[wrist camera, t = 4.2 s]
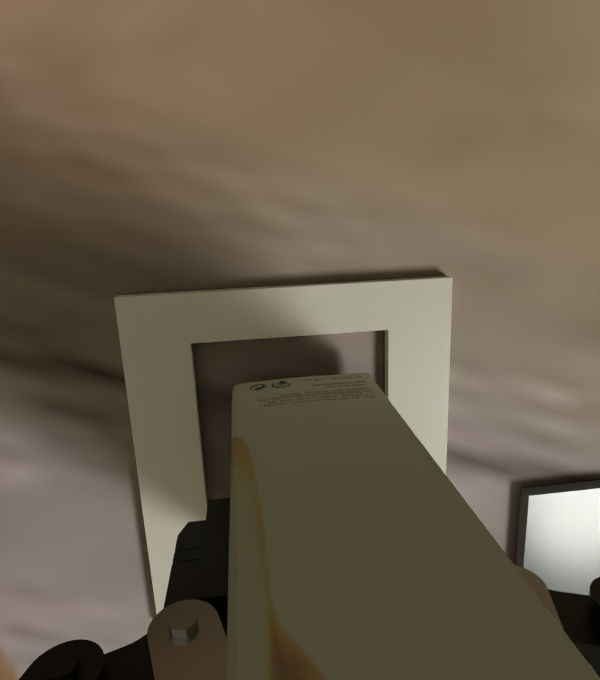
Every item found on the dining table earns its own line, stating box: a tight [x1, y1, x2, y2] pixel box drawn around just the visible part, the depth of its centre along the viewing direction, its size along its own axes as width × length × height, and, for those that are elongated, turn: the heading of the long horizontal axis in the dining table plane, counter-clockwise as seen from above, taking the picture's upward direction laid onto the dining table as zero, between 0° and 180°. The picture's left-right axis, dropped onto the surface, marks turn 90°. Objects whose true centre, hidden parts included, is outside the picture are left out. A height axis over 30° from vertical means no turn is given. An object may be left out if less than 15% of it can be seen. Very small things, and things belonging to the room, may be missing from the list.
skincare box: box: [226, 373, 600, 680], centre depth 10 cm, size 6×4×12 cm
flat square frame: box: [114, 276, 453, 614], centre depth 16 cm, size 10×12×1 cm
